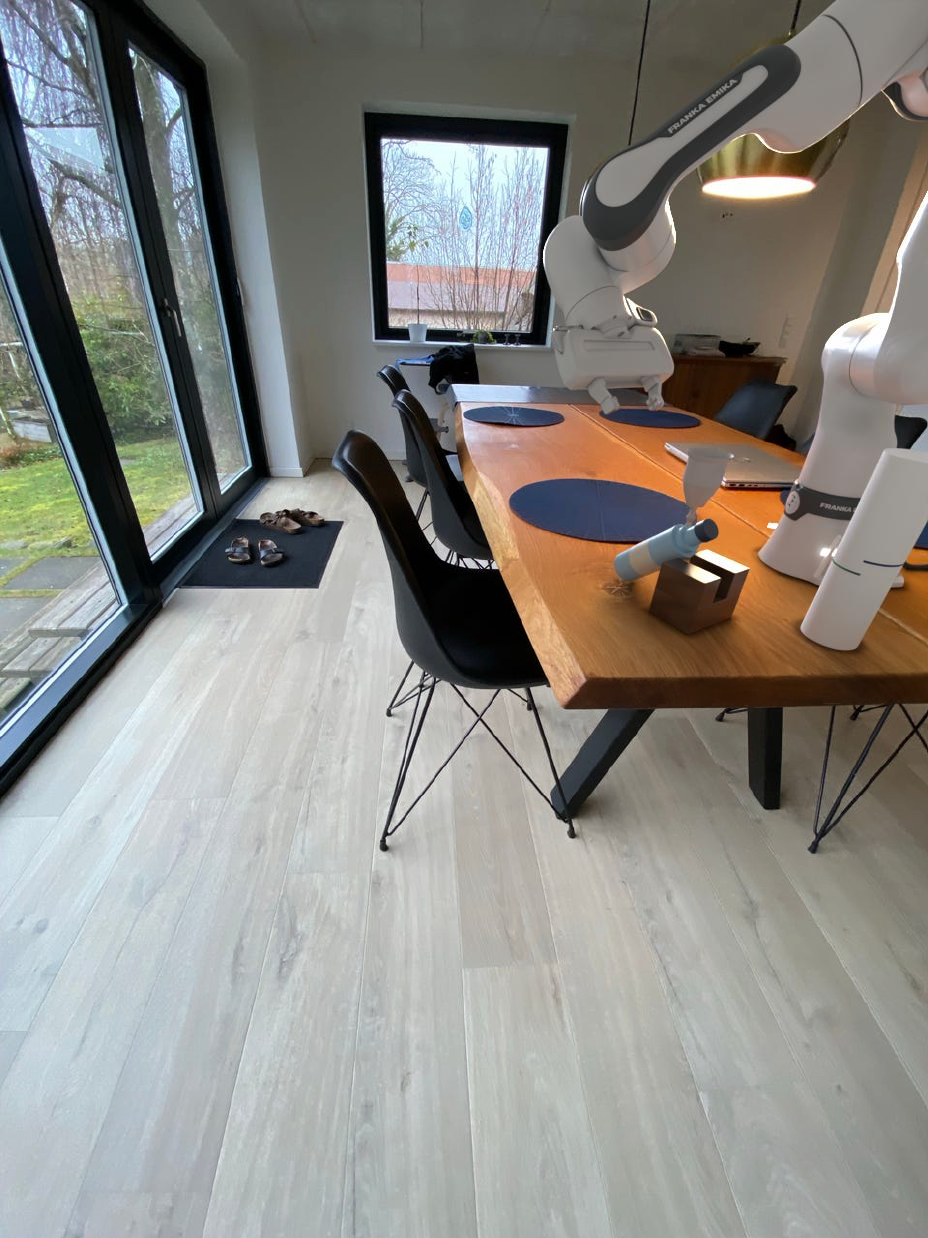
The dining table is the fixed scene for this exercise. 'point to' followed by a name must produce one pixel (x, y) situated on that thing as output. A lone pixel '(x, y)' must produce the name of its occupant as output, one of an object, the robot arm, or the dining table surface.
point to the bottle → (663, 549)
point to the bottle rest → (697, 591)
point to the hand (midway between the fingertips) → (635, 409)
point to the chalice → (703, 477)
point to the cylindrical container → (871, 550)
